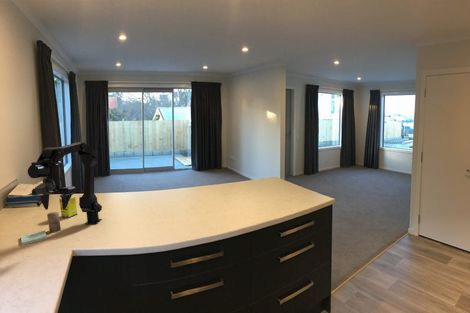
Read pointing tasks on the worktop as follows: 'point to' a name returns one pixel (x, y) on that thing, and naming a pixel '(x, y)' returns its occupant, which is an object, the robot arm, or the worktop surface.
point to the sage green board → (33, 237)
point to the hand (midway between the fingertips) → (55, 209)
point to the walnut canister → (54, 222)
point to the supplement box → (69, 208)
